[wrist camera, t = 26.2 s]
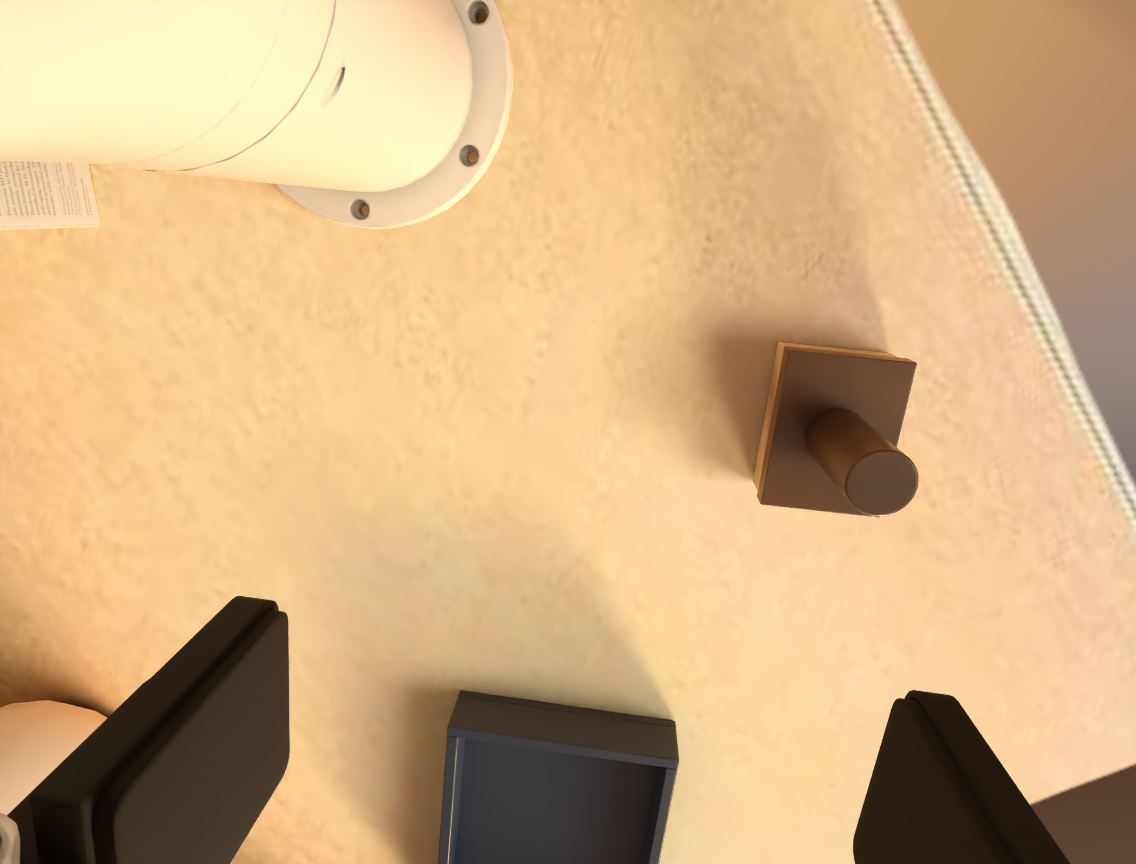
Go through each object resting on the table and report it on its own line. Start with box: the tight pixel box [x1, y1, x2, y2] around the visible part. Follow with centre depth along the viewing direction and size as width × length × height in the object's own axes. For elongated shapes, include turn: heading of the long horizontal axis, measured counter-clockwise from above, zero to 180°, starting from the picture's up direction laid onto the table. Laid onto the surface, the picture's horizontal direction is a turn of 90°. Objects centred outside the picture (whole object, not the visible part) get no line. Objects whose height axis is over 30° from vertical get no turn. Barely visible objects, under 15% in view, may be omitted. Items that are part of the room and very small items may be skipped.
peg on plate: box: [753, 342, 918, 518], centre depth 30 cm, size 7×5×9 cm
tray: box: [438, 691, 679, 864], centre depth 41 cm, size 16×12×3 cm
